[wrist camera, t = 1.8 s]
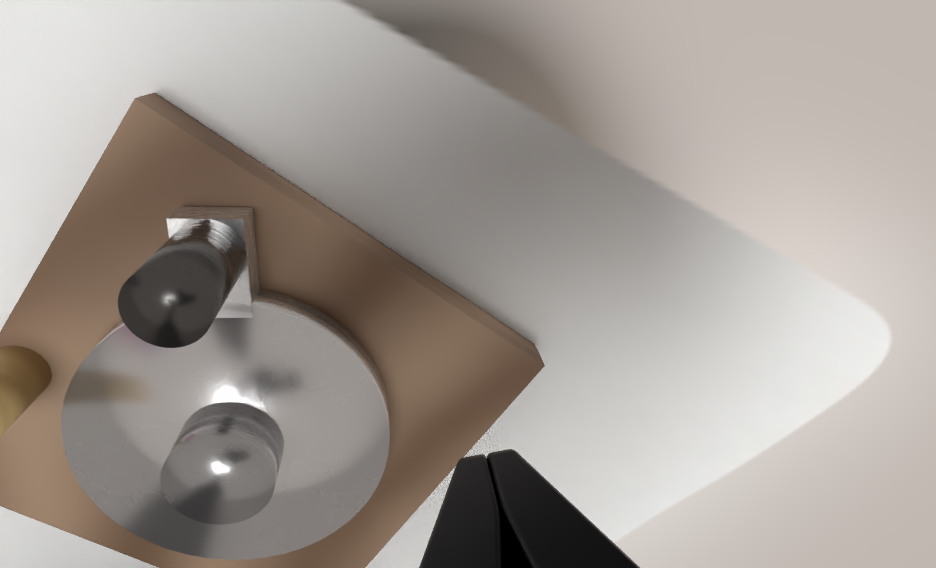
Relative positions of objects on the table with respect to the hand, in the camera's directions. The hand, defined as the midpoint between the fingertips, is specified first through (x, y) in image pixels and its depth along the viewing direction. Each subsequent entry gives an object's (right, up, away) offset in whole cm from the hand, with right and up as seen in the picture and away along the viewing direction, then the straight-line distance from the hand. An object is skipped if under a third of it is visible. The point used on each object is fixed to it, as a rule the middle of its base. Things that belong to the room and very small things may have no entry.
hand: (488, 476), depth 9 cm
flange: (-8, -1, +11) cm, 13 cm away
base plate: (-8, -1, +13) cm, 15 cm away
